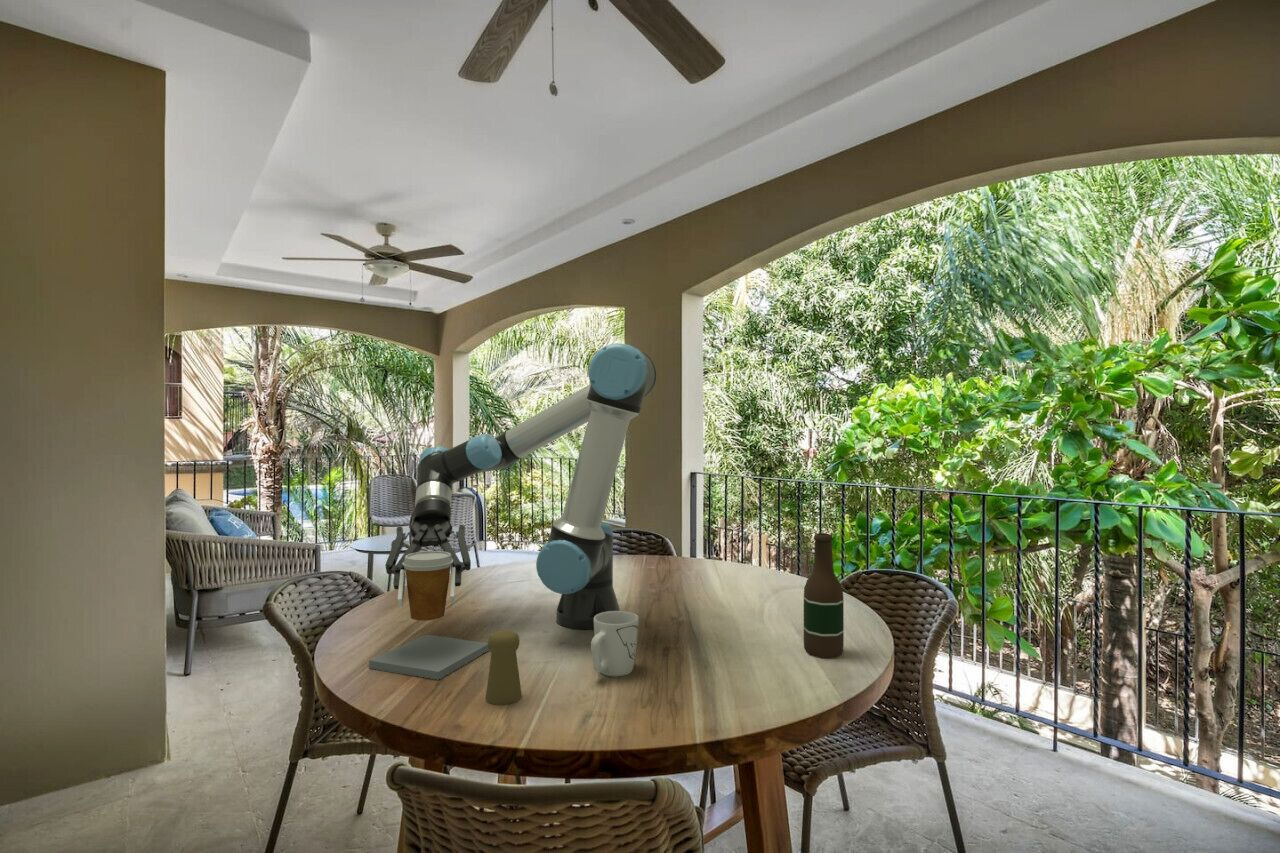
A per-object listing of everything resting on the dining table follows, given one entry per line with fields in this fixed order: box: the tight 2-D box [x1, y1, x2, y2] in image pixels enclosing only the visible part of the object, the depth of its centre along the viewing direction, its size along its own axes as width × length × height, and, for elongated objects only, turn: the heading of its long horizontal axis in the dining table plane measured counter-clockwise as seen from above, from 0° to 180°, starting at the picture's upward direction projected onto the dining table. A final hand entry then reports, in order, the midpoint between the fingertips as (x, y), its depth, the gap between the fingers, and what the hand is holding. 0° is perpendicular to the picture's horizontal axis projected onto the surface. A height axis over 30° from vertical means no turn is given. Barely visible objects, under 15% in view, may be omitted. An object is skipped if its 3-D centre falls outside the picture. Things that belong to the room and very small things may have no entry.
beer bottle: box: [803, 532, 845, 659], centre depth 128 cm, size 8×8×24 cm
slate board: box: [368, 634, 490, 681], centre depth 124 cm, size 16×16×2 cm
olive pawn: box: [485, 629, 523, 706], centre depth 107 cm, size 6×6×11 cm
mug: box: [590, 610, 640, 678], centre depth 117 cm, size 11×8×10 cm
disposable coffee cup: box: [402, 550, 453, 622], centre depth 124 cm, size 10×10×12 cm
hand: (426, 601), depth 121 cm, fingers closed on disposable coffee cup, 9 cm apart
